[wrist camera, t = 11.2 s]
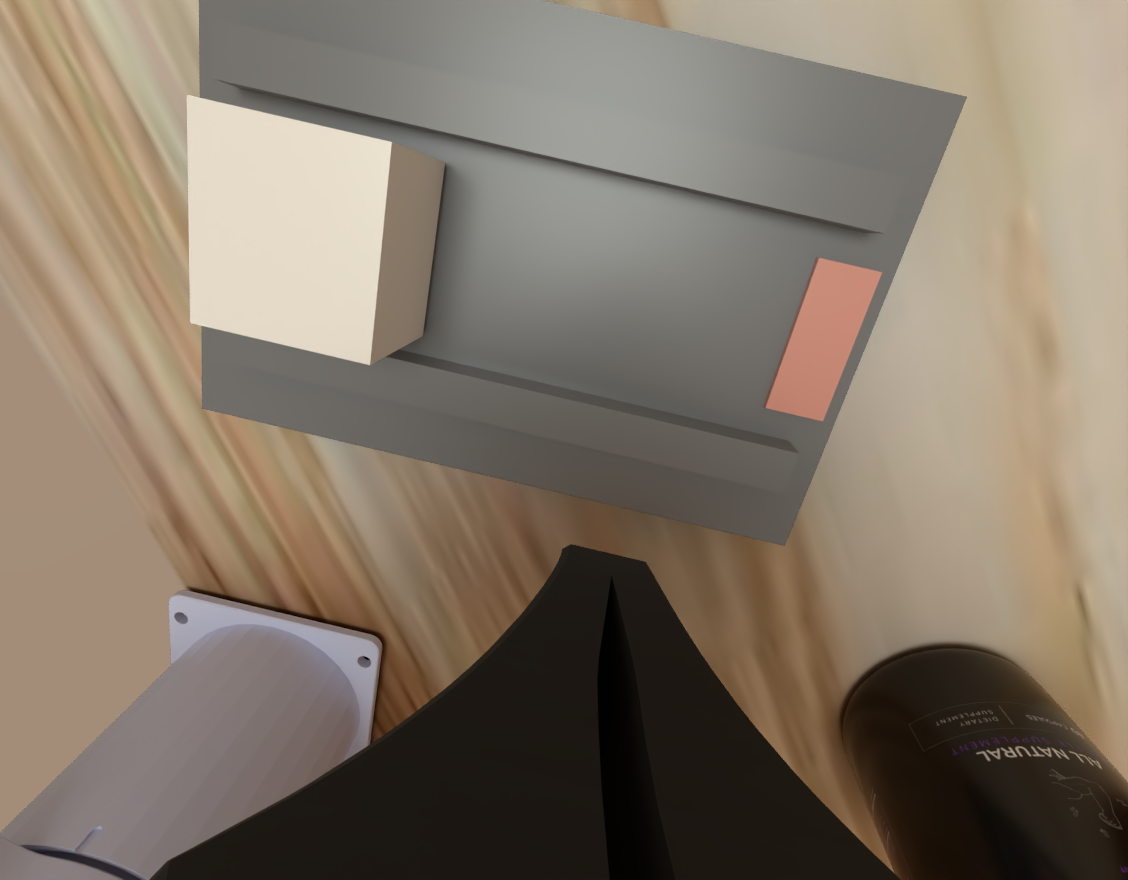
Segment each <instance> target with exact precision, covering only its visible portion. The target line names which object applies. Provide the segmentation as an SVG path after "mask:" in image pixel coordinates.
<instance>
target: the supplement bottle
mask: <svg viewBox="0 0 1128 880" xmlns="http://www.w3.org/2000/svg"><path fill="white" fill-rule="evenodd" d="M842 734H843V743H844V747H845V750H846V754H847V757H848V759H849V762H850V764H851V767H852V769H853V772H854V775H855V777H856V780H857V782H858V785H859V787H860V790H861V792H862V794H863V797H864V799H865V802H866V804H867V807H868V809H869V812H870V814H871V816H872V819H873V821H874V824H875V826H876V829H877V831H878V834H879V836H880V838H881V841H882V843H883V846H884V848H885V851H886V853H887V856H888V858H889V860H890V863H891V865H892V868H893V870H894V873H895V875H896V876H898V877H899V878H900V879H901V880H1128V782H1127V780H1126V779H1125V778H1124V777H1123V776H1122V775H1121V774H1120V773H1119V772H1118V770H1117V769H1116V768H1115V767H1114V766H1113V765H1112V764H1111V763H1110V761H1109V760H1108V759H1107V758H1106V757H1105V756H1104V755H1103V754H1102V753H1101V751H1100V750H1099V749H1098V748H1097V747H1096V746H1095V745H1094V744H1093V743H1092V741H1091V740H1090V739H1089V738H1088V737H1087V736H1086V735H1085V734H1084V732H1083V731H1082V730H1081V729H1080V728H1079V727H1078V726H1077V725H1076V724H1075V722H1074V721H1073V720H1072V719H1071V718H1070V717H1069V716H1068V715H1067V714H1066V712H1065V711H1064V710H1063V709H1062V708H1061V707H1060V706H1059V705H1058V704H1057V703H1056V702H1055V701H1054V700H1053V698H1052V697H1051V696H1050V695H1049V694H1048V693H1047V692H1046V691H1045V690H1044V689H1043V688H1042V686H1041V685H1040V684H1039V683H1037V682H1036V681H1035V680H1034V679H1033V678H1032V677H1031V676H1030V675H1029V674H1028V673H1026V672H1025V671H1024V670H1023V669H1021V668H1019V667H1018V666H1016V665H1014V664H1013V663H1011V662H1009V661H1007V660H1005V659H1003V658H1000V657H997V656H995V655H992V654H988V653H985V652H981V651H976V650H970V649H961V648H939V649H931V650H925V651H920V652H916V653H912V654H909V655H906V656H903V657H901V658H898V659H896V660H894V661H892V662H890V663H888V664H886V665H884V666H883V667H881V668H880V669H878V670H877V671H875V672H874V673H873V674H871V675H870V676H869V677H868V678H867V679H866V680H865V681H864V682H863V683H862V684H861V685H860V686H859V687H858V689H857V690H856V691H855V693H854V694H853V696H852V698H851V700H850V701H849V703H848V706H847V708H846V711H845V715H844V719H843V727H842Z"/></svg>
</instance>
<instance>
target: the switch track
mask: <svg viewBox="0 0 1128 880" xmlns="http://www.w3.org/2000/svg"><path fill="white" fill-rule="evenodd" d="M199 61H200V98H203V99H208V100H212V101H216V102H221V103H225V104H229V105H234V106H238V107H242V108H247V109H251V110H255V111H260V112H264V113H268V114H273V115H277V116H281V117H286V118H290V119H294V120H299V121H303V122H307V123H312V124H316V125H320V126H325V127H329V128H333V129H338V130H342V131H346V132H351V133H355V134H359V135H364V136H368V137H372V138H377V139H381V140H385V141H390V142H393V143H396V144H398V145H401V146H404V147H406V148H409V149H412V150H414V151H417V152H420V153H422V154H425V155H427V156H430V157H433V158H435V159H438V160H441V161H443V162H445V168H444V176H443V183H442V191H441V199H440V207H439V214H438V222H437V230H436V238H435V245H434V253H433V261H432V269H431V276H430V284H429V292H428V300H427V307H426V315H425V323H424V331H423V336H422V337H420V338H419V339H417V340H415V341H413V342H411V343H409V344H408V345H406V346H404V347H402V348H400V349H399V350H397V351H395V352H393V353H391V354H389V355H388V356H386V357H384V358H382V359H380V360H378V361H377V362H375V363H373V364H371V365H367V364H363V363H359V362H354V361H350V360H346V359H341V358H337V357H333V356H329V355H324V354H320V353H316V352H312V351H307V350H303V349H299V348H295V347H290V346H286V345H282V344H278V343H273V342H269V341H265V340H261V339H256V338H252V337H248V336H243V335H239V334H235V333H231V332H226V331H222V330H218V329H214V328H209V327H205V326H202V409H206V410H211V411H215V412H219V413H223V414H228V415H232V416H236V417H240V418H245V419H249V420H253V421H257V422H262V423H266V424H270V425H274V426H279V427H283V428H287V429H291V430H295V431H300V432H304V433H308V434H312V435H317V436H321V437H325V438H329V439H334V440H338V441H342V442H346V443H351V444H355V445H359V446H363V447H368V448H372V449H376V450H380V451H384V452H389V453H393V454H397V455H401V456H406V457H410V458H414V459H418V460H423V461H427V462H431V463H435V464H440V465H444V466H448V467H452V468H457V469H461V470H465V471H469V472H473V473H478V474H482V475H486V476H490V477H495V478H499V479H503V480H507V481H512V482H516V483H520V484H524V485H529V486H533V487H537V488H541V489H546V490H550V491H554V492H558V493H562V494H567V495H571V496H575V497H579V498H584V499H588V500H592V501H596V502H601V503H605V504H609V505H613V506H618V507H622V508H626V509H630V510H634V511H639V512H643V513H647V514H651V515H656V516H660V517H664V518H668V519H673V520H677V521H681V522H685V523H690V524H694V525H698V526H702V527H707V528H711V529H715V530H719V531H723V532H728V533H732V534H736V535H740V536H745V537H749V538H753V539H757V540H762V541H766V542H770V543H774V544H779V545H783V546H785V544H786V541H787V539H788V537H789V534H790V532H791V529H792V527H793V524H794V522H795V519H796V517H797V514H798V512H799V509H800V507H801V505H802V502H803V500H804V497H805V495H806V492H807V490H808V487H809V485H810V482H811V480H812V477H813V475H814V473H815V470H816V468H817V465H818V463H819V460H820V458H821V455H822V453H823V450H824V448H825V445H826V443H827V440H828V438H829V436H830V433H831V431H832V428H833V426H834V423H835V421H836V418H837V416H838V413H839V411H840V408H841V406H842V404H843V401H844V399H845V396H846V394H847V391H848V389H849V386H850V384H851V381H852V379H853V376H854V374H855V371H856V369H857V367H858V364H859V362H860V359H861V357H862V354H863V352H864V349H865V347H866V344H867V342H868V339H869V337H870V335H871V332H872V330H873V327H874V325H875V322H876V320H877V317H878V315H879V312H880V310H881V307H882V305H883V303H884V300H885V298H886V295H887V293H888V290H889V288H890V285H891V283H892V280H893V278H894V275H895V273H896V270H897V268H898V266H899V263H900V261H901V258H902V256H903V253H904V251H905V248H906V246H907V243H908V241H909V238H910V236H911V234H912V231H913V229H914V226H915V224H916V221H917V219H918V216H919V214H920V211H921V209H922V206H923V204H924V201H925V199H926V197H927V194H928V192H929V189H930V187H931V184H932V182H933V179H934V177H935V174H936V172H937V169H938V167H939V165H940V162H941V160H942V157H943V155H944V152H945V150H946V147H947V145H948V142H949V140H950V137H951V135H952V133H953V130H954V128H955V125H956V123H957V120H958V118H959V115H960V113H961V110H962V108H963V105H964V103H965V100H966V98H967V97H966V96H961V95H957V94H952V93H948V92H944V91H939V90H935V89H930V88H926V87H922V86H917V85H913V84H908V83H904V82H900V81H895V80H891V79H887V78H882V77H878V76H873V75H869V74H865V73H860V72H856V71H851V70H847V69H843V68H838V67H834V66H830V65H825V64H821V63H816V62H812V61H808V60H803V59H799V58H794V57H790V56H786V55H781V54H777V53H772V52H768V51H764V50H759V49H755V48H751V47H746V46H742V45H737V44H733V43H729V42H724V41H720V40H715V39H711V38H707V37H702V36H698V35H694V34H689V33H685V32H680V31H676V30H672V29H667V28H663V27H658V26H654V25H650V24H645V23H641V22H636V21H632V20H628V19H623V18H619V17H615V16H610V15H606V14H601V13H597V12H593V11H588V10H584V9H579V8H575V7H571V6H566V5H562V4H558V3H553V2H549V1H544V0H199Z"/></svg>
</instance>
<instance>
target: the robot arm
mask: <svg viewBox="0 0 1128 880" xmlns="http://www.w3.org/2000/svg"><path fill="white" fill-rule="evenodd" d="M183 613H184V614H185V615H186V616H185V615H184V614H183ZM169 627H170V655H171V666H170V667H169V668H168V669H167V670H166V671H165V672H164V673H163V674H162V675H161V676H160V677H159V678H158V679H157V680H156V681H155V682H154V683H153V684H152V685H151V686H150V687H149V688H148V689H147V690H146V691H145V692H144V693H143V694H141V695H140V696H139V697H138V698H137V699H136V701H134V702H133V703H132V704H131V705H130V706H129V707H128V708H127V709H126V710H125V711H124V712H123V713H122V714H121V715H120V716H119V717H118V718H117V719H116V720H115V721H114V722H113V723H112V724H111V725H110V726H109V727H108V728H107V729H106V730H105V731H104V732H103V733H102V734H100V735H99V736H98V737H97V738H96V739H95V740H94V741H93V742H92V743H91V744H90V745H89V746H88V747H87V748H86V749H85V750H84V751H83V752H82V753H81V754H80V755H79V756H78V757H77V758H76V759H75V760H74V761H73V762H72V763H71V764H70V765H69V766H68V767H67V768H66V769H65V770H64V771H63V772H62V773H61V774H60V775H58V776H57V777H56V778H55V780H54V781H52V782H51V783H50V784H49V785H48V786H47V787H46V788H45V789H44V790H43V791H42V792H41V793H40V794H39V795H38V796H37V797H36V798H35V799H34V800H33V801H32V802H31V803H30V804H29V805H28V806H27V807H26V808H25V809H24V810H23V811H22V812H21V813H20V814H19V815H17V816H16V817H15V818H14V819H13V820H12V821H11V822H10V823H9V824H8V825H7V826H6V827H5V828H4V829H3V830H2V831H1V832H0V880H901V879H900V878H899V877H898V876H896V875H895V874H894V873H893V872H892V871H891V870H890V869H889V868H888V867H887V866H886V865H885V864H884V863H883V862H882V861H881V860H879V859H878V858H877V857H876V856H875V855H874V854H873V853H872V852H871V851H870V850H869V849H868V848H867V847H866V846H865V845H864V844H863V843H862V842H861V841H860V840H859V839H858V838H857V837H856V836H855V835H854V834H853V833H852V832H851V831H850V830H849V829H848V828H847V827H846V826H845V825H844V824H843V823H842V822H841V821H840V820H839V819H838V818H837V817H836V816H835V815H834V814H833V813H832V812H831V811H830V810H829V809H828V808H827V807H826V806H825V805H824V804H823V803H822V802H821V801H820V800H819V798H818V797H817V796H816V795H815V794H814V793H813V792H812V791H811V790H810V789H809V788H808V787H807V786H806V784H805V783H804V782H803V781H802V780H801V779H800V778H799V777H798V776H797V775H796V774H795V773H794V771H793V770H792V769H791V768H790V767H789V766H788V765H787V763H786V762H785V761H784V760H783V759H782V758H781V756H780V755H779V754H778V753H777V752H776V751H775V749H774V748H773V747H772V746H771V745H770V744H769V742H768V741H767V740H766V739H765V738H764V737H763V735H762V734H761V733H760V732H759V731H758V730H757V728H756V727H755V726H754V725H753V723H752V722H751V721H750V720H749V718H748V717H747V716H746V715H745V713H744V712H743V711H742V710H741V708H740V707H739V706H738V705H737V703H736V702H735V700H734V699H733V698H732V696H731V695H730V694H729V692H728V691H727V690H726V688H725V687H724V686H723V684H722V683H721V681H720V680H719V679H718V677H717V676H716V675H715V673H714V672H713V671H712V669H711V668H710V666H709V665H708V663H707V662H706V660H705V659H704V657H703V656H702V655H701V653H700V652H699V650H698V648H697V647H696V645H695V644H694V642H693V641H692V639H691V638H690V636H689V634H688V633H687V631H686V630H685V628H684V627H683V625H682V623H681V622H680V620H679V618H678V617H677V615H676V613H675V612H674V610H673V608H672V606H671V605H670V603H669V601H668V600H667V598H666V596H665V594H664V593H663V591H662V589H661V587H660V586H659V584H658V582H657V581H656V579H655V577H654V575H653V574H652V572H651V570H650V569H649V567H648V565H647V564H646V562H643V561H639V560H635V559H631V558H627V557H622V556H618V555H614V554H610V553H605V552H601V551H597V550H593V549H589V548H584V547H580V546H576V545H572V544H571V545H569V546H567V547H565V548H563V549H562V553H561V557H560V559H559V561H558V563H557V565H556V567H555V569H554V570H553V572H552V574H551V575H550V577H549V578H548V580H547V581H546V583H545V584H544V586H543V587H542V588H541V590H540V591H539V592H538V594H537V595H536V596H535V598H534V599H533V600H532V602H531V603H530V604H529V605H528V607H527V608H526V609H525V611H524V612H523V613H522V614H521V615H520V616H519V618H518V619H517V620H516V621H515V622H514V623H513V624H512V625H511V626H510V627H509V628H508V630H507V631H506V632H505V633H504V634H503V635H502V636H501V637H500V638H499V639H498V640H497V642H496V643H495V644H494V645H493V646H492V647H491V648H490V649H489V650H488V651H487V652H486V653H485V654H484V655H483V656H482V657H480V658H479V659H478V660H477V661H476V662H475V663H474V664H473V665H472V666H471V667H470V668H469V669H468V670H466V671H465V672H464V673H463V674H462V675H461V676H460V677H458V678H457V679H456V680H455V681H454V682H453V683H452V684H450V685H449V686H448V687H447V688H446V689H444V690H443V691H442V692H441V693H439V694H438V695H437V696H436V697H434V698H433V699H432V700H430V701H429V702H428V703H427V704H425V705H424V706H423V707H422V708H420V709H419V710H418V711H416V712H415V713H414V714H413V715H411V716H410V717H409V718H407V719H406V720H405V721H403V722H402V723H400V724H399V725H398V726H396V727H395V728H394V729H392V730H391V731H389V732H388V733H386V734H385V735H384V736H382V737H381V738H379V739H378V740H376V741H374V742H373V743H371V744H370V740H371V732H372V724H373V717H374V709H375V701H376V693H377V686H378V678H379V670H380V662H381V655H382V643H381V641H380V640H379V639H378V638H377V637H376V636H373V635H371V634H367V633H363V632H359V631H355V630H350V629H346V628H342V627H338V626H334V625H329V624H325V623H321V622H317V621H313V620H309V619H304V618H300V617H296V616H292V615H288V614H283V613H279V612H275V611H271V610H267V609H263V608H258V607H254V606H250V605H246V604H242V603H237V602H233V601H229V600H225V599H221V598H217V597H212V596H208V595H204V594H200V593H196V592H191V591H187V590H182V591H179V592H177V593H176V594H175V595H173V596H172V597H171V598H170V600H169ZM363 656H365V657H367V658H369V659H370V660H366V659H364V657H363Z"/></svg>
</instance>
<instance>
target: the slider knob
mask: <svg viewBox="0 0 1128 880" xmlns="http://www.w3.org/2000/svg"><path fill="white" fill-rule="evenodd" d="M187 138H188V206H189V274H190V323H192V324H197V325H201V326H205V327H209V328H214V329H218V330H222V331H226V332H231V333H235V334H239V335H243V336H248V337H252V338H256V339H261V340H265V341H269V342H273V343H278V344H282V345H286V346H290V347H295V348H299V349H303V350H307V351H312V352H316V353H320V354H324V355H329V356H333V357H337V358H341V359H346V360H350V361H354V362H359V363H363V364H367V365H371V364H373V363H375V362H377V361H378V360H380V359H382V358H384V357H386V356H388V355H389V354H391V353H393V352H395V351H397V350H399V349H400V348H402V347H404V346H406V345H408V344H409V343H411V342H413V341H415V340H417V339H419V338H420V337H422V336H423V331H424V323H425V315H426V307H427V300H428V292H429V284H430V276H431V269H432V261H433V253H434V245H435V238H436V230H437V222H438V214H439V207H440V199H441V191H442V183H443V176H444V168H445V162H443V161H441V160H438V159H435V158H433V157H430V156H427V155H425V154H422V153H420V152H417V151H414V150H412V149H409V148H406V147H404V146H401V145H398V144H396V143H393V142H390V141H385V140H381V139H377V138H372V137H368V136H364V135H359V134H355V133H351V132H346V131H342V130H338V129H333V128H329V127H325V126H320V125H316V124H312V123H307V122H303V121H299V120H294V119H290V118H286V117H281V116H277V115H273V114H268V113H264V112H260V111H255V110H251V109H247V108H242V107H238V106H234V105H229V104H225V103H221V102H216V101H212V100H208V99H203V98H199V97H195V96H190V95H187Z"/></svg>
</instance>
